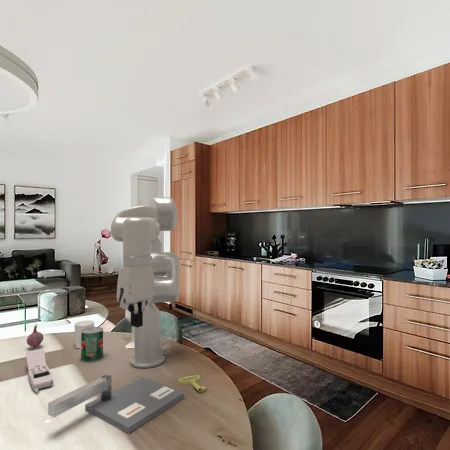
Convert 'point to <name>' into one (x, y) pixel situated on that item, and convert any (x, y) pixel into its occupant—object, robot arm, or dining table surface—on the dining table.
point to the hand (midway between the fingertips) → (136, 325)
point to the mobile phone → (38, 370)
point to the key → (192, 382)
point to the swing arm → (81, 395)
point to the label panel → (135, 404)
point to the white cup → (79, 327)
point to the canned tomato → (91, 344)
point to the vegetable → (35, 338)
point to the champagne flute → (128, 317)
